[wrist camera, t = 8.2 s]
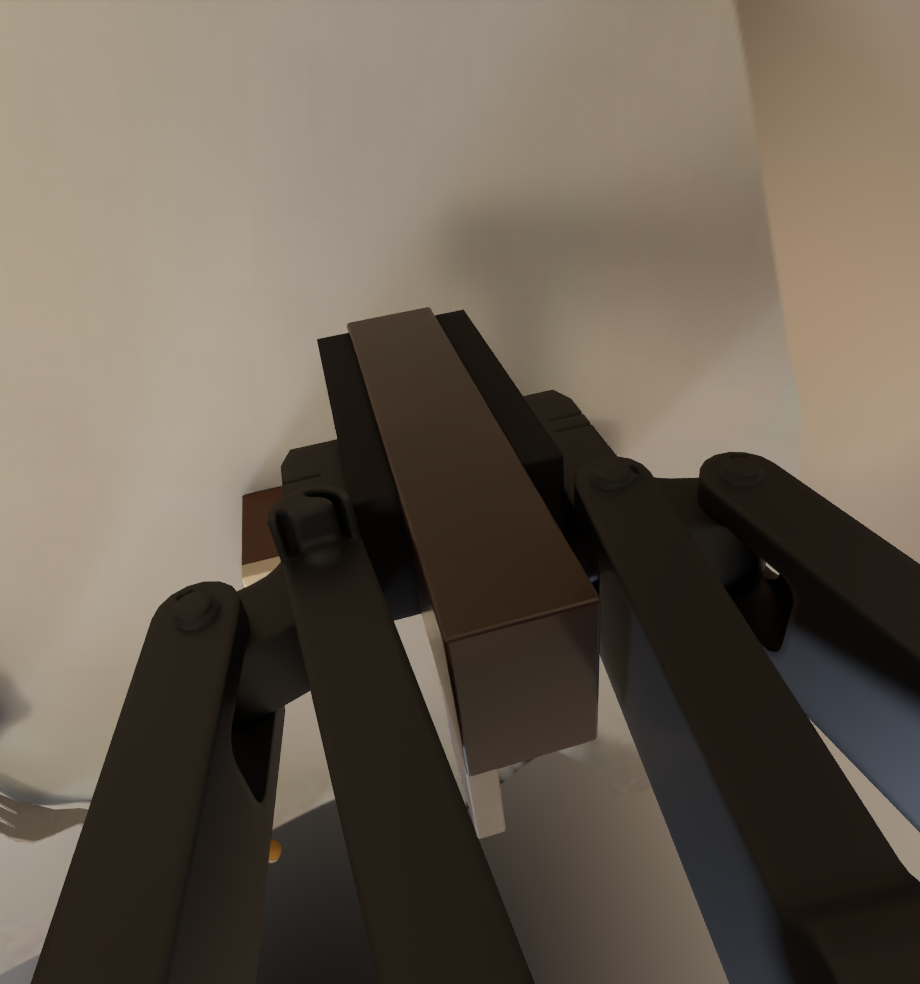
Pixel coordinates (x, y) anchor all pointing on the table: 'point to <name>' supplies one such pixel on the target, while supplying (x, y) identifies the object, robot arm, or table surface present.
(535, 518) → the long brown beam
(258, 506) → the cake slice
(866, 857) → the robot arm
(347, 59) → the table surface
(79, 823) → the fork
